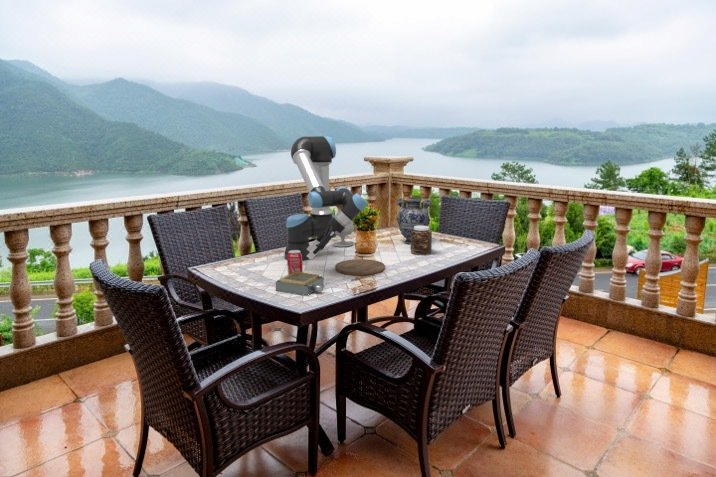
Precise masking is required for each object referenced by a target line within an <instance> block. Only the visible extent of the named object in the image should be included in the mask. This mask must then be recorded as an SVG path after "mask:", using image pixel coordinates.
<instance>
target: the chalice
mask: <svg viewBox="0 0 716 477" xmlns="http://www.w3.org/2000/svg"><path fill="white" fill-rule="evenodd" d="M353 224H354V222H353V220H352V221H351V224H348V225H347V226H345V229H344V230H343V231H342V232H341V233H338V232H337V231H335V235H337V236H339V237H340V239H341V240H340V241H336V242H334V243H332V246H334V247H339V248H340V247H341V248H342V247H343V248H344V247H345V248H346V247H352V246H353V243H352V242H350V241H346V240H345V239H346V237H347V236H349V235H350V234H352V233H353V232H354V230H355V225H353Z"/></svg>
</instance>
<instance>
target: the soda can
mask: <svg viewBox="0 0 716 477" xmlns="http://www.w3.org/2000/svg"><path fill="white" fill-rule="evenodd" d="M286 260H287V261H286V262H287V275H289V274H291V273H293V272H295V271H296V272H303V268H304V267H303V260H302V254H301V251H300V250H291V251H289V253H288V255H287V259H286ZM303 273H304V272H303Z"/></svg>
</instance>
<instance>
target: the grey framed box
mask: <svg viewBox="0 0 716 477" xmlns="http://www.w3.org/2000/svg"><path fill="white" fill-rule="evenodd" d="M324 279H325V278H324V276H321V275H320V274H316V273H308V272H296V271H295V272H293V273H291V274H289V275H288V274H287V275H285V276H283V277H281V278H280V279H277V281H275V291H277V292H282V291H283V292H284V293H288V292H290V293H289V294H294V293H298V294H297V295H301V294H304V295H303V296H307V295H308V294H310V293H311V294H313V293H314V291H315V292H323V291H324V287H325V280H324ZM312 292H313V293H312ZM311 294H310V295H311ZM308 296H309V295H308Z"/></svg>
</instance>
